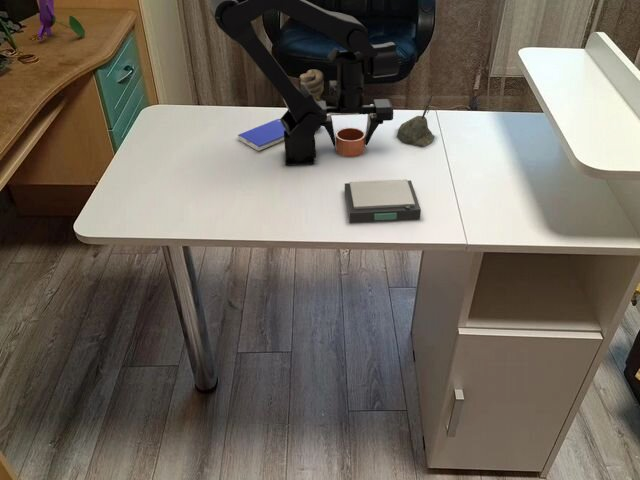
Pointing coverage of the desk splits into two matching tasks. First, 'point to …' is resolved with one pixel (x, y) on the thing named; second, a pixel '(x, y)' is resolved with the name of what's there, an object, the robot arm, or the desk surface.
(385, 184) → the scale
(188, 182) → the desk surface
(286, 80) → the robot arm
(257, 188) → the desk surface
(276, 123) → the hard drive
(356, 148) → the bowl
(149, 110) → the desk surface
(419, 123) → the sword in stone
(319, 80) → the light bulb
